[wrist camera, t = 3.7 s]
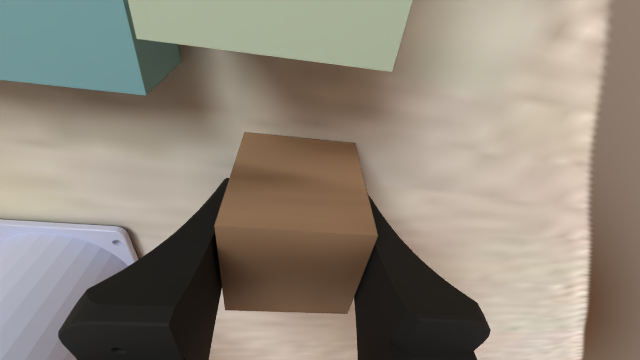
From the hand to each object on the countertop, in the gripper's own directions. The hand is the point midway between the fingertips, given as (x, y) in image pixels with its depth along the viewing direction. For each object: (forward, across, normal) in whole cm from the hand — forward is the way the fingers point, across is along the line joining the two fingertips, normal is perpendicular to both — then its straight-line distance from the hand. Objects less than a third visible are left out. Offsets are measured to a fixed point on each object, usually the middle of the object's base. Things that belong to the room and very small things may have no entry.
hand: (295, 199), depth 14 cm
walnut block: (+1, 0, 0) cm, 1 cm away
